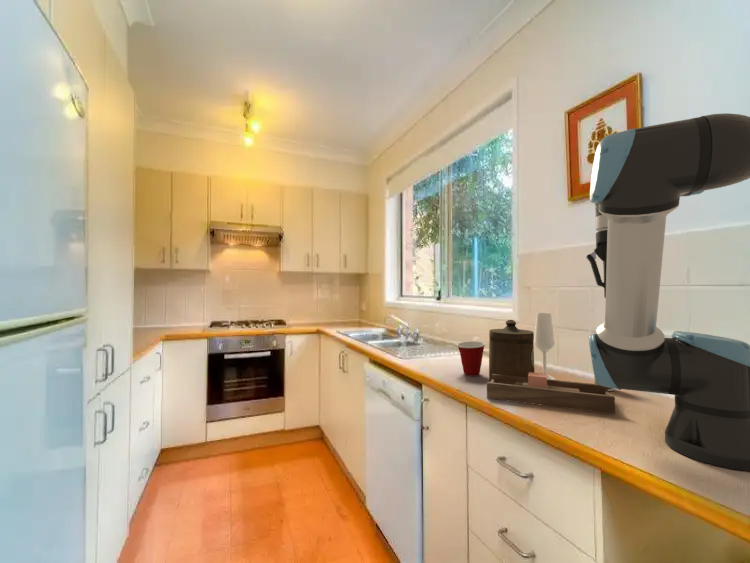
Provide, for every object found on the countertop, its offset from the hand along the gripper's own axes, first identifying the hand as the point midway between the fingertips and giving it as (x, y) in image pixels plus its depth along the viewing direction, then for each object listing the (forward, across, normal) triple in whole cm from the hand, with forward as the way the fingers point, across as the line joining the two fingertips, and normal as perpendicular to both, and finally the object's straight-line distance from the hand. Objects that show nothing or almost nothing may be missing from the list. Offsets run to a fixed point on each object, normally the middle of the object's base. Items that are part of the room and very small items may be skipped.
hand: (612, 309), depth 101 cm
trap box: (+26, +18, +8) cm, 33 cm away
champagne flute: (+27, +18, -19) cm, 37 cm away
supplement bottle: (+27, +1, -12) cm, 29 cm away
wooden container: (+27, +29, -8) cm, 40 cm away
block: (+23, +20, +8) cm, 32 cm away
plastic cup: (+27, +44, -14) cm, 53 cm away
